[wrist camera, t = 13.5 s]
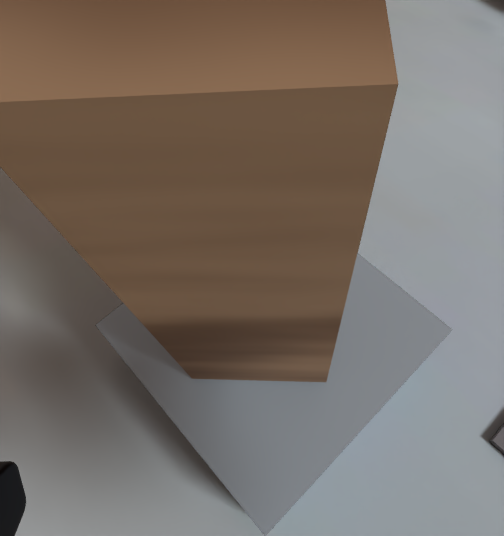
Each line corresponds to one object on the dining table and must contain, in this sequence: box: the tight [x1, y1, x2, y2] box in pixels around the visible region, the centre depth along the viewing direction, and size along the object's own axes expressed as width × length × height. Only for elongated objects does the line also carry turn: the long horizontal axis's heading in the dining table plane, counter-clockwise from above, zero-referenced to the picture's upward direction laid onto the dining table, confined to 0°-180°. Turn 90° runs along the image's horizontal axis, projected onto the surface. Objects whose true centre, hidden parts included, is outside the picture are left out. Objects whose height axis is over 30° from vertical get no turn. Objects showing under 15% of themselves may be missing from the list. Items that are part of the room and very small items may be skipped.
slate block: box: [96, 253, 453, 536], centre depth 19 cm, size 10×10×4 cm
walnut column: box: [0, 0, 398, 382], centre depth 12 cm, size 5×5×13 cm
